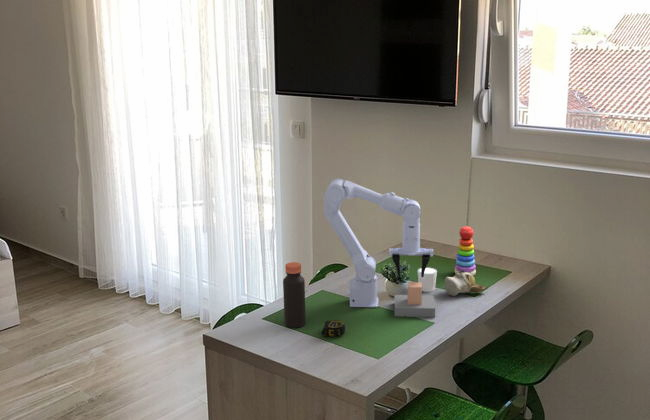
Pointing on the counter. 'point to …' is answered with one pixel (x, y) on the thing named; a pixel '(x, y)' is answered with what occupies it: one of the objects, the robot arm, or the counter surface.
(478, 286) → the ceramic sculpture
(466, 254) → the stacking toy
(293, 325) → the bottle
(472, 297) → the counter surface
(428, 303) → the plinth
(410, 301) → the terracotta block
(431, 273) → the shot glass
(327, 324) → the tape measure
